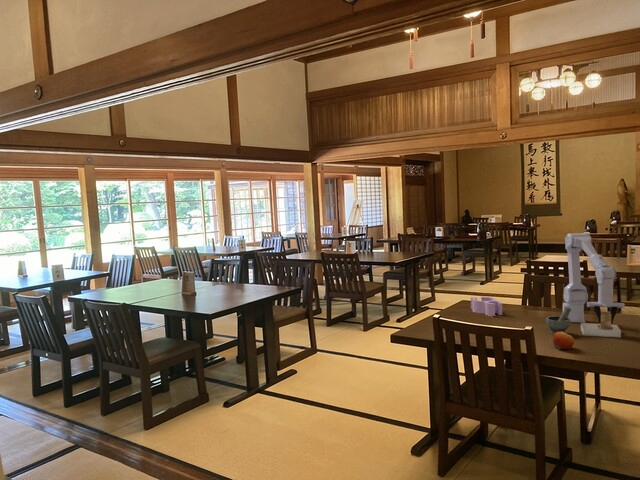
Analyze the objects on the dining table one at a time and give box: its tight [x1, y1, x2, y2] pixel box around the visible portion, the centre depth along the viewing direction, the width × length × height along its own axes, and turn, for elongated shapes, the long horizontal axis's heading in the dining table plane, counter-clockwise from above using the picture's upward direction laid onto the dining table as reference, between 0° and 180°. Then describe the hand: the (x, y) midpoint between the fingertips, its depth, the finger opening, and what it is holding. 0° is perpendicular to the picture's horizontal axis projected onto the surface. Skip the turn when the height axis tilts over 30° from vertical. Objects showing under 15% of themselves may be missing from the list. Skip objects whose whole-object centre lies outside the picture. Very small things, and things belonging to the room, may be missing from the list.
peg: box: [599, 310, 612, 329], centre depth 222 cm, size 4×4×8 cm
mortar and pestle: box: [545, 307, 571, 335], centre depth 225 cm, size 11×9×12 cm
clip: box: [470, 295, 503, 317], centre depth 270 cm, size 20×12×7 cm, turn 14°
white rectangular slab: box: [580, 322, 622, 339], centre depth 223 cm, size 14×10×3 cm
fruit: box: [552, 332, 575, 351], centre depth 204 cm, size 8×8×8 cm
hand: (605, 323), depth 222 cm, fingers closed on peg, 4 cm apart
